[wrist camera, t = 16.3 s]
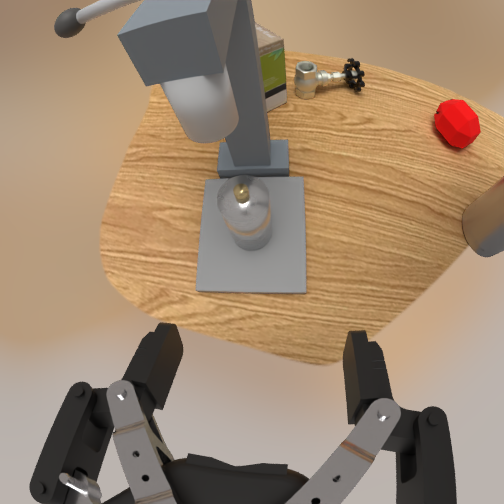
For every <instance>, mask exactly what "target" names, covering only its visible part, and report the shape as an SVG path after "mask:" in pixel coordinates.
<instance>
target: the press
mask: <svg viewBox="0 0 504 504" xmlns="http://www.w3.org/2000/svg"><path fill="white" fill-rule="evenodd" d="M137 1H140V0H100V1H98V2H96V3H94V4H91V5H89V6H87V7H85V8H83V9H79V8H70V9H68V10H66V11H64V12H62V13H61V14H60V15H59V17H58V18H57V19H56V22H55V26H54V28H55V32H56V34H57V35H58V36H60V37H63V38H69V37H72V36H75V35H77V34H78V33H79V32H80V31H81V30H82V29H83V28H84V26H85V24H86V22H88V21H90V20H92V19H94V18H97V17H99V16H101V15H103V14H106V13H108V12H110V11H113V10H115V9H118V8H120V7H123V6H126V5H129V4H131V3H134V2H137ZM117 36H118V37H119V39H120V41H121V42H122V45H123V46H124V48H125V50H126V52H127V53H128V55H129V57H130V59H131V61H132V62H133V64H134V66H135V68H136V69H137V71H138V73H139V75H140V76H141V78H142V80H143V82H144V83H145V85H146V86H150V85H154V84H159V83H160V85H161V87H162V89H163V91H164V93H165V95H166V96H167V98H168V100H169V102H170V104H171V106H172V108H173V110H174V112H175V114H176V116H177V118H178V120H179V122H180V124H181V126H182V128H183V129H184V131H185V133H186V135H187V137H188V138H189V139H191V140H193V141H195V142H198V143H212V142H216V141H219V140H221V139H223V138H225V139H226V142H222V143H220V147H219V156H218V166H217V172H218V174H219V176H220V179H207V180H206V181H205V190H204V199H203V209H202V218H201V229H200V240H199V252H198V264H197V278H196V291H198V292H219V293H263V294H306V233H305V202H304V180H303V177H289V155H288V140H270V132H269V124H268V116H267V107H266V99H265V92H264V84H263V76H262V69H261V62H260V55H259V48H258V41H257V34H256V27H255V21H254V15H253V8H252V3H251V0H144V1H143V3H142V4H141V5H140V6H139V7H138V9H137V10H136V11H135V12H134V14H133V15H132V16H131V17H130V19H129V20H128V21H127V23H126V24H125V25H124V27H123V28H122V29H121V31H120V32H119V33H118V35H117ZM239 175H250V176H254V177H256V178H258V179H260V180H261V181H262V182H263V183H264V184H265V185H266V187H267V189H268V191H269V198H270V210H271V224H272V236H271V239H270V241H269V242H268V243H267V245H266V246H264V247H263V248H261V249H259V250H255V251H248V250H244V249H242V248H240V247H239V246H238V245H237V244H236V243H235V241H234V239H233V237H232V235H231V233H230V231H229V229H228V227H227V225H226V223H225V221H224V219H223V217H222V215H221V213H220V211H219V208H218V206H217V194H218V191H219V189H220V188H221V186H222V185H223V184H224V183H225V182H226V181H227V180H229V179H231V178H232V177H235V176H239Z"/></svg>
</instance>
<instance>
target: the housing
mask: <svg viewBox="0 0 504 504" xmlns="http://www.w3.org/2000/svg"><path fill="white" fill-rule="evenodd" d="M217 206H218V208H219V211H220V213H221V215H222V217H223V219H224V221H225V223H226V225H227V227H228V229H229V231H230V233H231V235H232V237H233V239H234V241H235V243H236V244H237V245H238V246H239V247H240V248H242V249H244V250H248V251H255V250H259V249H261V248H263V247H264V246H266V245H267V243H268V242H269V241H270V239H271V236H272V224H271V210H270V198H269V191H268V189H267V187H266V185H265V184H264V183H263V182H262V181H261V180H260V179H258V178H256V177H254V176H250V175H239V176H235V177H232V178H231V179H229V180H227V181H226V182H225V183H224V184H223V185H222V186H221V188H220V189H219V191H218V194H217Z"/></svg>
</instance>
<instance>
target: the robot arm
mask: <svg viewBox="0 0 504 504" xmlns="http://www.w3.org/2000/svg"><path fill="white" fill-rule="evenodd" d="M462 225H463V231H464V235H465V238H466V240H467V242H468V244H469V245H470V247H471V248H472V249H473V250H474V251H475V252H476V253H477V254H478V255H480V256H483V257H491V256H493V255H495V254H497V253H499V252H501V251H504V176H503V177H502V178H501V179H500V180H499V181H497V182H496V183H495V184H494V185H493V186H492V187H491V188H489V189H488V190H487V191H486V192H485V193H484V194H482V195H481V196H480V197H479V198H477V199H476V200H475V201H474V202H473V203H471V204H470V205H469V206H468V207H467V208H466V209H465V211H464V214H463V218H462ZM182 355H183V344H182V341H181V338H180V335H179V332H178V329H177V326H176V325H175V324H171V323H159V324H158V326H157V328H156V330H155V332H149V333H148V334H147V335H146V336H145V337H144V338H143V339H142V341H141V343H140V345H139V346H138V349H137V350H136V352H135V355H134V356H133V358H132V360H131V362H130V364H129V366H128V368H127V370H126V372H125V374H124V376H123V378H122V380H119V381H116V382H114V383H112V384H111V385H110V386H109V388H97V389H96V388H95V389H92V387H91V386H90V385H89V384H88V383H86V382H78V383H76V384H74V385H73V386H72V387H71V388H70V390H69V392H68V393H67V396H66V398H65V400H64V402H63V404H62V406H61V408H60V410H59V412H58V415H57V417H56V419H55V421H54V424H53V426H52V428H51V430H50V433H49V435H48V437H47V440H46V442H45V444H44V447H43V450H42V452H41V455H40V457H39V460H38V463H37V465H36V468H35V471H34V473H33V476H32V479H31V482H30V492H31V495H32V497H33V498H34V499H35V500H36V501H37V502H39V503H41V504H341V502H342V501H343V500H344V499H345V498H346V497H347V496H348V494H349V493H350V492H351V491H352V489H353V488H354V487H355V486H356V484H357V483H358V482H359V480H360V479H361V478H362V477H363V475H364V474H365V473H366V471H367V470H368V469H369V467H370V466H371V464H372V463H373V461H374V459H375V457H376V455H377V453H378V452H379V451H380V449H381V450H387V451H393V452H396V473H397V474H396V479H397V481H396V482H397V494H396V504H457V499H456V483H455V469H454V461H453V453H452V446H451V438H450V432H449V426H448V421H447V417H446V414H445V412H444V411H443V410H442V409H440V408H438V407H434V406H432V407H427V408H425V409H424V410H423V411H422V412H418V411H412V410H406V409H403V408H401V407H400V406H399V405H398V404H397V403H396V402H395V401H394V399H393V397H392V393H391V388H390V383H389V378H388V373H387V369H386V364H385V361H384V356H383V351H382V349H381V348H380V346H379V345H378V344H377V343H376V341H373V342H368V339H367V334H366V331H365V330H361V331H349V332H348V336H347V340H346V344H345V348H344V352H343V370H344V379H345V390H346V401H347V414H348V424H355V428H354V429H353V430H352V432H351V433H350V434H349V436H348V437H347V438H346V439H345V440H344V441H343V442H342V443H341V444H340V446H339V447H338V448H337V449H336V450H335V451H334V453H333V454H332V455H331V456H330V457H329V458H328V460H327V461H326V462H325V463H324V464H323V465H322V466H321V468H320V469H319V470H318V471H317V472H316V473H315V474H314V475H313V476H312V477H311V478H310V479H309V478H307V477H306V476H304V475H302V474H300V473H299V472H296V471H293V470H290V469H287V466H288V465H287V464H266V463H261V464H254V465H246V466H233V465H230V464H227V463H224V462H222V461H219V460H217V459H214V458H212V457H206V456H200V455H195V454H188V456H187V458H183V459H177V460H174V458H173V456H172V454H171V453H170V451H169V449H168V448H167V446H166V444H165V442H164V440H163V437H162V435H161V433H160V430H159V428H158V425H157V423H156V421H155V418H154V416H153V412H154V409H160V410H163V408H164V405H165V402H166V399H167V396H168V393H169V391H170V388H171V385H172V383H173V380H174V377H175V375H176V372H177V369H178V366H179V364H180V361H181V358H182ZM114 427H115V432H113V429H114ZM112 433H113V440H114V443H115V446H116V449H117V453H118V456H119V459H120V462H121V465H122V467H123V470H124V473H125V476H126V479H127V481H128V484H129V486H130V487H129V488H128V489H126V490H124V491H122V492H121V493H119V494H117V495H116V496H114V497H112V498H111V499H109V500H107V501H105V502H104V503H101V501H100V498H101V496H102V494H101V492H100V487H99V485H98V484H97V478H98V475H99V472H100V469H101V466H102V462H103V459H104V456H105V453H106V450H107V447H108V444H109V441H110V438H111V435H112Z"/></svg>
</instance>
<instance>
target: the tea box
mask: <svg viewBox="0 0 504 504" xmlns="http://www.w3.org/2000/svg"><path fill="white" fill-rule="evenodd" d="M255 27H256V34H257V41H258V48H259V55H260V62H261V69H262V76H263V84H264V92H265V99H266V107H267V112H268V111H270V110H272V109H274V108H276V107H278V106H280V105H282V104H284V103H286V102H287V89H286V70H285V54H284V41H283V40H284V39H283V38H281V37H280V36H278V35H276V34H275V33H273V32H271V31H270V30H268V29H266V28H264V27H263V26H261V25H259V24H257V23H256V22H255Z"/></svg>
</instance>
